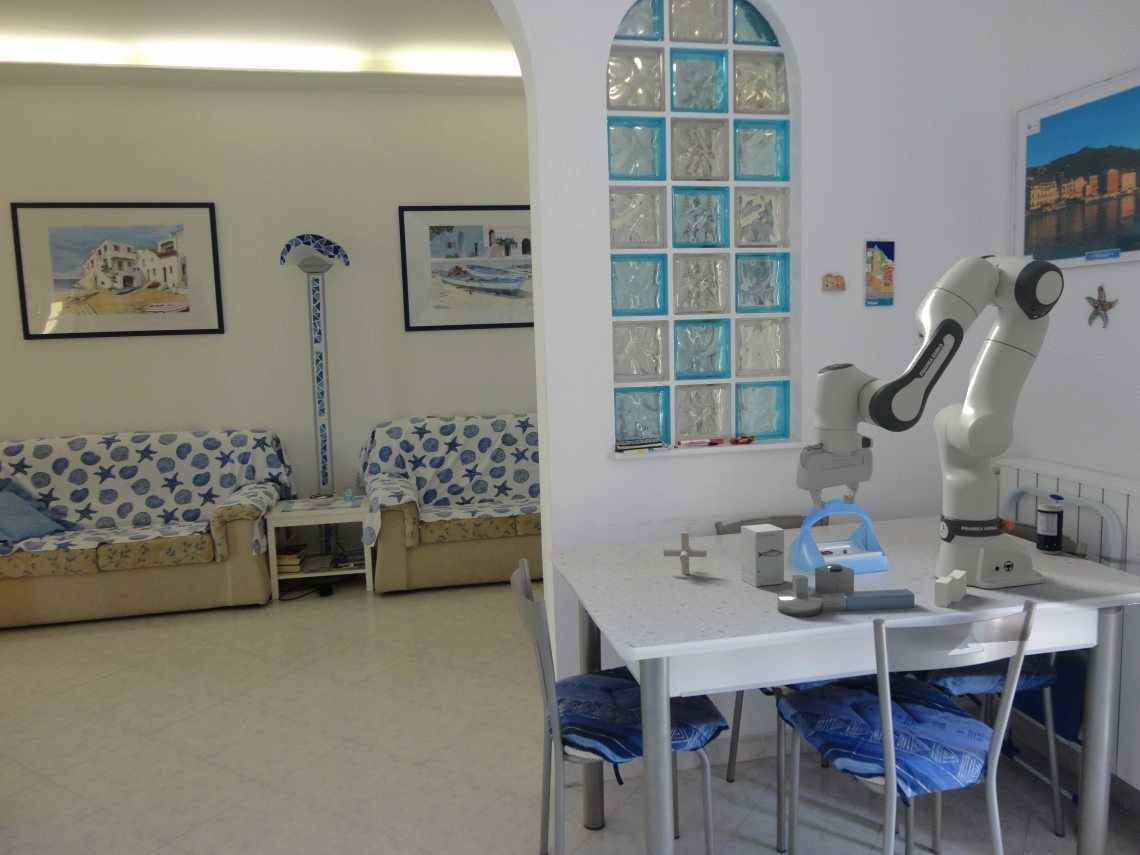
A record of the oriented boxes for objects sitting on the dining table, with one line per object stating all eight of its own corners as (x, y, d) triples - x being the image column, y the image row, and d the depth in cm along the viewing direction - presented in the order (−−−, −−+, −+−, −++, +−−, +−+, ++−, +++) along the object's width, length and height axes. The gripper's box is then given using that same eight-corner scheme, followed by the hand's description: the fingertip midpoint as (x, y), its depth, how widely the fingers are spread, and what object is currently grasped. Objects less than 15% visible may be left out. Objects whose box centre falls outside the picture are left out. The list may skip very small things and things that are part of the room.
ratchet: (900, 598, 184) (901, 565, 183) (920, 611, 175) (920, 577, 174) (772, 604, 182) (772, 571, 182) (785, 618, 173) (785, 583, 173)
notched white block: (959, 590, 190) (960, 564, 189) (997, 605, 179) (998, 578, 178) (899, 597, 186) (899, 571, 186) (934, 613, 175) (934, 585, 175)
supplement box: (755, 587, 194) (755, 532, 193) (740, 579, 202) (739, 525, 200) (785, 584, 196) (785, 529, 195) (769, 575, 203) (768, 522, 202)
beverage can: (1066, 554, 214) (1068, 506, 213) (1043, 555, 214) (1044, 507, 213) (1054, 548, 219) (1055, 501, 218) (1031, 549, 220) (1033, 502, 218)
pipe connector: (705, 580, 201) (705, 537, 200) (662, 579, 203) (661, 537, 202) (707, 568, 211) (707, 528, 210) (666, 567, 213) (665, 527, 212)
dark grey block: (832, 590, 190) (832, 561, 190) (853, 596, 186) (853, 566, 185) (815, 595, 187) (815, 565, 187) (836, 601, 183) (836, 571, 182)
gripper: (813, 447, 175) (812, 515, 176) (878, 438, 186) (877, 502, 187) (789, 444, 180) (788, 510, 181) (854, 436, 191) (853, 498, 193)
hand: (834, 506), depth 185 cm, fingers open, 8 cm apart
